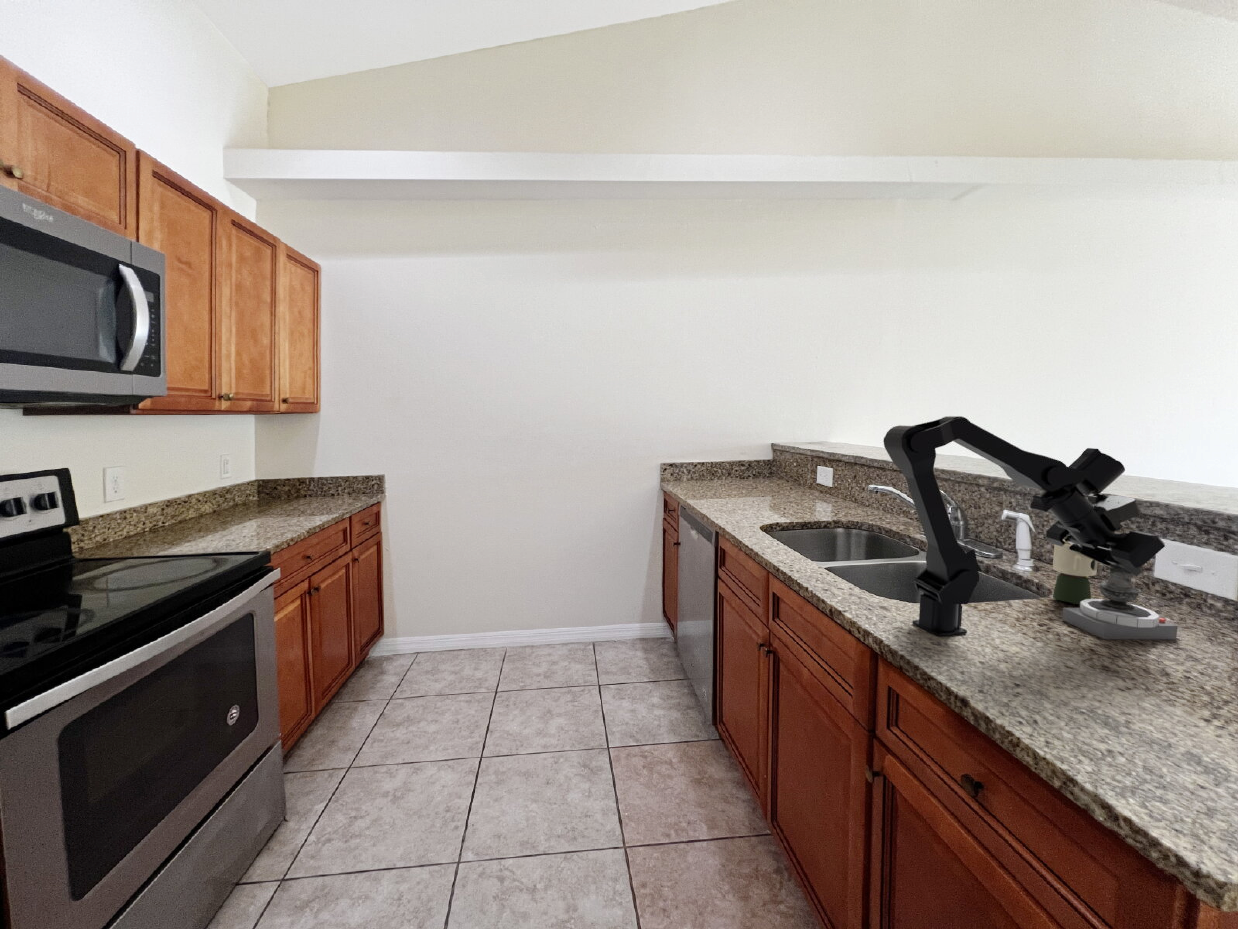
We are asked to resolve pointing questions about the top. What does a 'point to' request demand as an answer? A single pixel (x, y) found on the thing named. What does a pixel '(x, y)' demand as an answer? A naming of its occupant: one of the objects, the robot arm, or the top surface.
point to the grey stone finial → (1118, 590)
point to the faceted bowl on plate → (1119, 622)
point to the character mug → (1072, 574)
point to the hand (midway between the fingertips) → (1128, 571)
